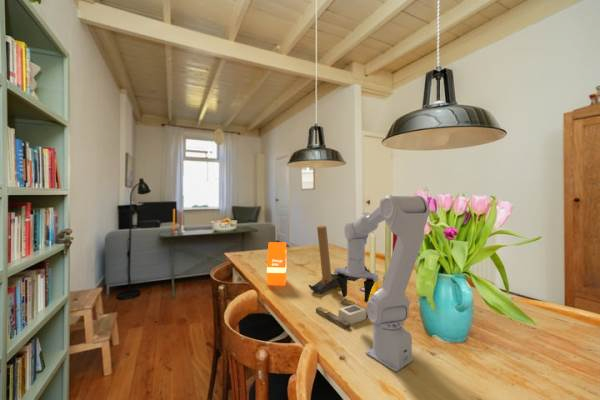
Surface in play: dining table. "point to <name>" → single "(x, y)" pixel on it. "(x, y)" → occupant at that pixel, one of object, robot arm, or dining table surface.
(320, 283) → the hammer
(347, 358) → the dining table surface
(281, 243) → the orange juice
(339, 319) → the guide rails
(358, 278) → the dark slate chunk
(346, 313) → the block
